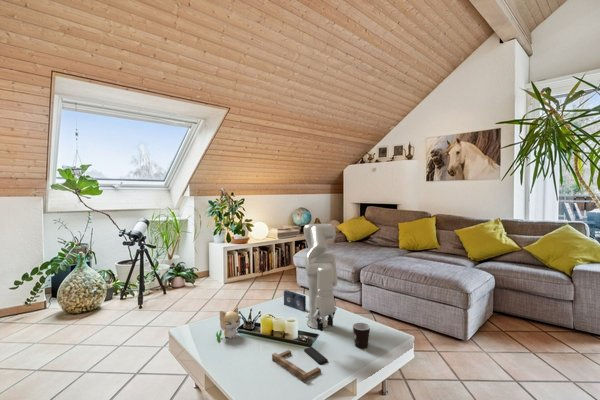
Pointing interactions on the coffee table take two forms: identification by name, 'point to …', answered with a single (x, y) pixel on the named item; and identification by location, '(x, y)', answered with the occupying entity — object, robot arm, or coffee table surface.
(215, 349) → the coffee table surface
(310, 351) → the remote control
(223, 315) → the kitten
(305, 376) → the walnut frame
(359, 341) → the coffee mug
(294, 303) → the vhs cassette tape
